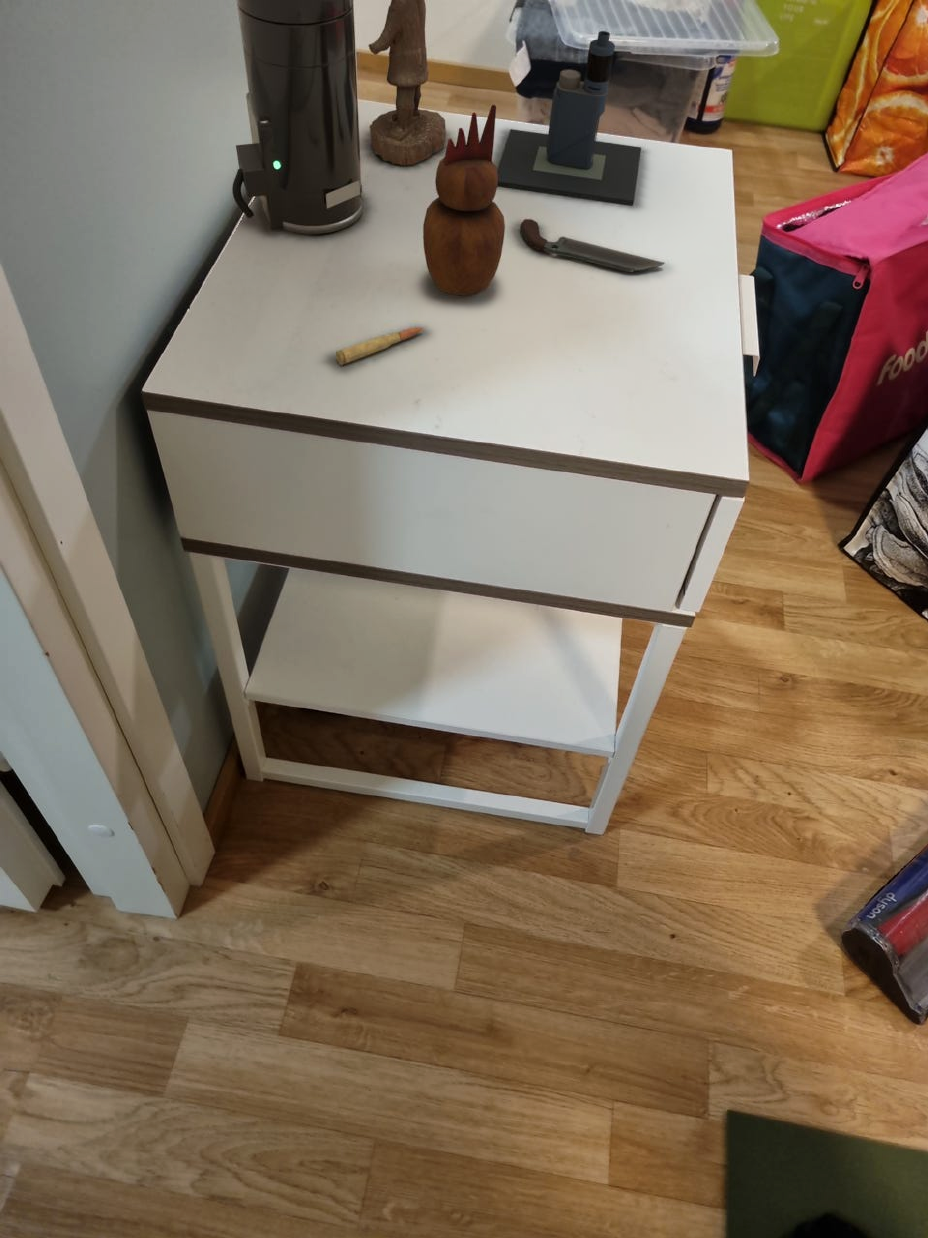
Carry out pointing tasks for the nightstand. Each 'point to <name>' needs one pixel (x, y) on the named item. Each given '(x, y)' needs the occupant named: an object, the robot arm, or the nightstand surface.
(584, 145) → the vaping device
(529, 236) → the knife
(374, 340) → the bullet
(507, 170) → the mat
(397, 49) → the figurine
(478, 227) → the wooden figurine
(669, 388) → the nightstand surface
